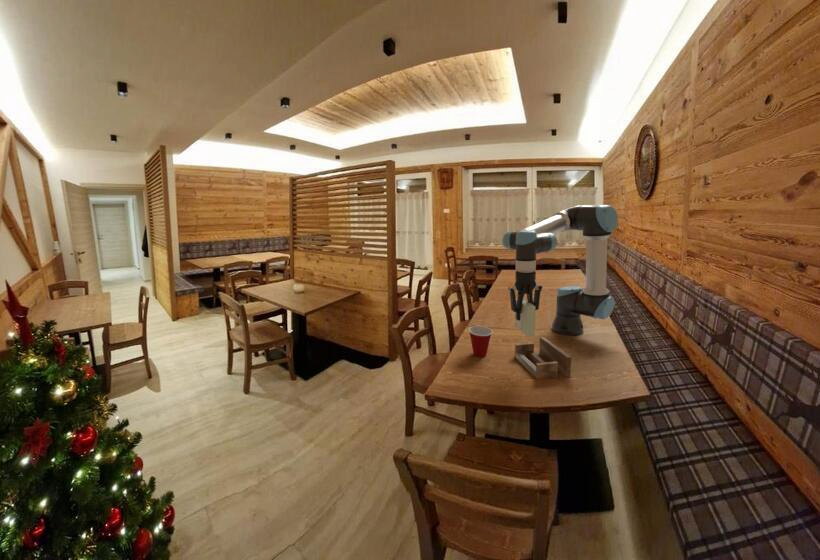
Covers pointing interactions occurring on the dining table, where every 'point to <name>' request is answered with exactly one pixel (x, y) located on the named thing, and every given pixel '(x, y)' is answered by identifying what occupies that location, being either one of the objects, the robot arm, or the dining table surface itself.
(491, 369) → the dining table surface
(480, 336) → the plastic cup
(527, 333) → the door panel
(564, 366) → the track
